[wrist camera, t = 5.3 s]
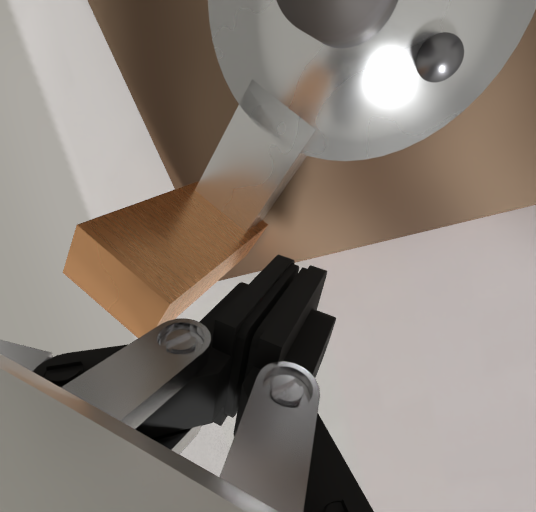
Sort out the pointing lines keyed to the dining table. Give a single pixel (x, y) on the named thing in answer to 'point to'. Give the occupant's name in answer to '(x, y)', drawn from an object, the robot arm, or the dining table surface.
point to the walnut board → (320, 170)
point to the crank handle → (289, 138)
